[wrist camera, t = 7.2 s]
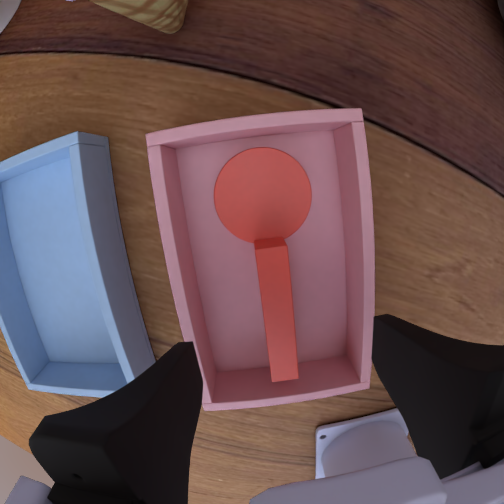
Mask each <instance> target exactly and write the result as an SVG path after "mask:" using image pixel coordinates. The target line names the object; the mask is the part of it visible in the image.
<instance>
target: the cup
mask: <svg viewBox="0 0 504 504" xmlns="http://www.w3.org/2000/svg"><path fill="white" fill-rule="evenodd" d="M20 2H21V0H0V33H1V32H2V31H3V29H4V28H5V27H6V26H7V24H8V23H9V21H10V20H11V19H12V17H13V15H14V14H15V12H16V10H17V9H18V7H19V4H20Z"/></svg>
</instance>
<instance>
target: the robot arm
mask: <svg viewBox="0 0 504 504" xmlns="http://www.w3.org/2000/svg"><path fill="white" fill-rule="evenodd" d="M371 359H372V361H373V364H374V367H375V369H376V371H377V374H378V376H379V378H380V380H381V382H382V383H383V385H384V387H385V388H386V390H387V392H388V393H389V395H390V397H391V398H392V400H393V402H394V403H395V405H396V407H397V408H395V409H392V410H388V411H384V412H381V413H377V414H373V415H369V416H365V417H361V418H357V419H352V420H348V421H343V422H338V423H333V424H328V425H323V426H320V427H318V428H317V429H316V475H315V479H314V480H308V481H301V482H294V483H289V484H285V485H281V486H276V487H272V488H269V489H267V490H265V491H264V492H262V493H260V494H258V495H257V496H255V497H253V498H252V499H250V502H249V504H504V345H486V344H478V343H472V342H466V341H462V340H458V339H453V338H450V337H446V336H443V335H440V334H437V333H434V332H432V331H429V330H426V329H424V328H421V327H419V326H417V325H414V324H412V323H409V322H407V321H405V320H402V319H400V318H397V317H395V316H392V315H389V314H384V315H379V316H374V317H373V340H372V356H371ZM202 396H203V378H202V374H201V371H200V367H199V363H198V359H197V355H196V351H195V347H194V343H193V341H190V342H178V343H177V344H175V345H174V346H173V347H172V348H171V349H170V350H169V351H167V352H166V353H165V354H164V355H163V356H162V357H161V358H160V359H158V360H157V361H156V362H155V363H154V364H153V365H152V366H150V367H149V368H148V369H147V370H145V371H144V372H143V373H142V374H140V375H139V376H138V377H136V378H135V379H134V380H132V381H131V382H129V383H128V384H126V385H125V386H123V387H122V388H120V389H118V390H117V391H115V392H113V393H111V394H109V395H107V396H105V397H103V398H101V399H99V400H97V401H95V402H92V403H90V404H87V405H85V406H82V407H79V408H76V409H73V410H69V411H66V412H61V413H57V414H53V415H48V416H45V417H44V418H43V420H42V421H41V422H40V424H39V425H38V427H37V428H36V430H35V431H34V433H33V434H32V436H31V437H30V439H29V446H30V449H31V451H32V453H33V455H34V457H35V458H36V460H37V461H38V462H39V463H40V465H41V466H42V467H43V468H44V470H45V471H46V472H47V473H48V475H49V476H50V477H51V478H52V479H53V481H54V482H55V483H54V485H53V487H52V489H51V488H50V487H48V486H47V485H45V484H43V483H41V482H38V481H35V480H33V479H30V478H27V477H25V476H20V478H19V480H18V481H17V483H16V485H15V486H14V488H13V490H12V491H11V493H10V495H9V497H8V499H7V500H6V502H5V504H188V482H189V467H190V456H191V449H192V443H193V439H194V435H195V431H196V426H197V422H198V418H199V413H200V409H201V404H202ZM408 432H409V433H410V436H411V438H412V441H413V444H414V447H415V449H416V452H417V455H418V456H417V455H416V453H415V451H414V449H413V447H412V445H411V444H410V442H409V440H408V438H407V435H408ZM321 435H322V436H321Z"/></svg>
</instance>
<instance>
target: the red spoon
mask: <svg viewBox="0 0 504 504" xmlns="http://www.w3.org/2000/svg"><path fill="white" fill-rule="evenodd" d="M311 201H312V190H311V184H310V181H309V178H308V176H307V174H306V172H305V170H304V169H303V167H302V166H301V165H300V163H299V162H298V161H297V160H296V159H294V158H293V157H292V156H290V155H289V154H287V153H285V152H283V151H281V150H278V149H275V148H270V147H256V148H251V149H247V150H244V151H242V152H240V153H238V154H237V155H235V156H234V157H232V158H231V159H230V160H229V161H228V162H227V163H226V164H225V165H224V166H223V168H222V169H221V171H220V173H219V175H218V177H217V179H216V182H215V187H214V205H215V209H216V212H217V215H218V217H219V219H220V221H221V222H222V224H223V225H224V226H225V227H226V229H227V230H228V231H229V232H231V233H232V234H233V235H234V236H236V237H238V238H239V239H241V240H243V241H246V242H249V243H254V249H255V257H256V265H257V272H258V280H259V288H260V295H261V303H262V311H263V318H264V326H265V334H266V341H267V349H268V357H269V365H270V372H271V380H272V382H278V381H285V380H292V379H298V378H299V370H298V356H297V343H296V330H295V318H294V307H293V296H292V285H291V274H290V264H289V254H288V246H287V244H286V242H285V240H284V239H286V238H288V237H289V236H291V235H292V234H294V233H295V232H296V231H297V230H298V229H299V228H300V227H301V226H302V224H303V223H304V221H305V220H306V218H307V216H308V213H309V211H310V207H311Z"/></svg>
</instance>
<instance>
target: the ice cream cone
mask: <svg viewBox="0 0 504 504" xmlns="http://www.w3.org/2000/svg"><path fill="white" fill-rule="evenodd" d="M66 1H74V0H66ZM88 1H91V2H93V3H95V4H98V5H100V6H102V7H105V8H107V9H109V10H111V11H113V12H116V13H118V14H121V15H123V16H126V17H128V18H130V19H133V20H135V21H138V22H140V23H142V24H145V25H147V26H150V27H152V28H154V29H157V30H159V31H161V32H164V33H167V34H172V33H175V32H177V31H178V30H179V29H180V28H181V27H182V26H183V22H184V17H185V12H186V8H187V3H188V0H88Z"/></svg>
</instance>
